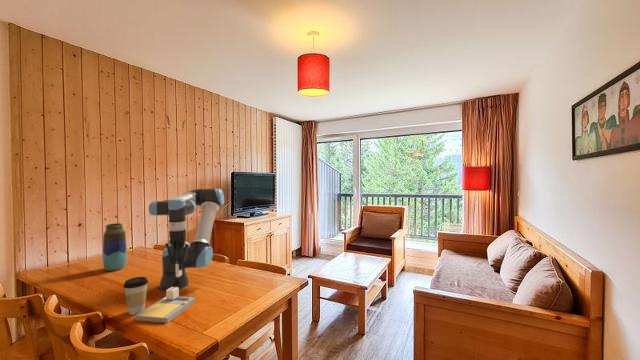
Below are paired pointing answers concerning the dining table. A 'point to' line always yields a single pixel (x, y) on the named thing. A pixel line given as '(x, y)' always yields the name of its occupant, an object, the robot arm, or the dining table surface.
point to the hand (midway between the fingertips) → (178, 275)
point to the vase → (114, 247)
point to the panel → (165, 309)
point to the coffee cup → (136, 294)
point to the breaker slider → (172, 293)
